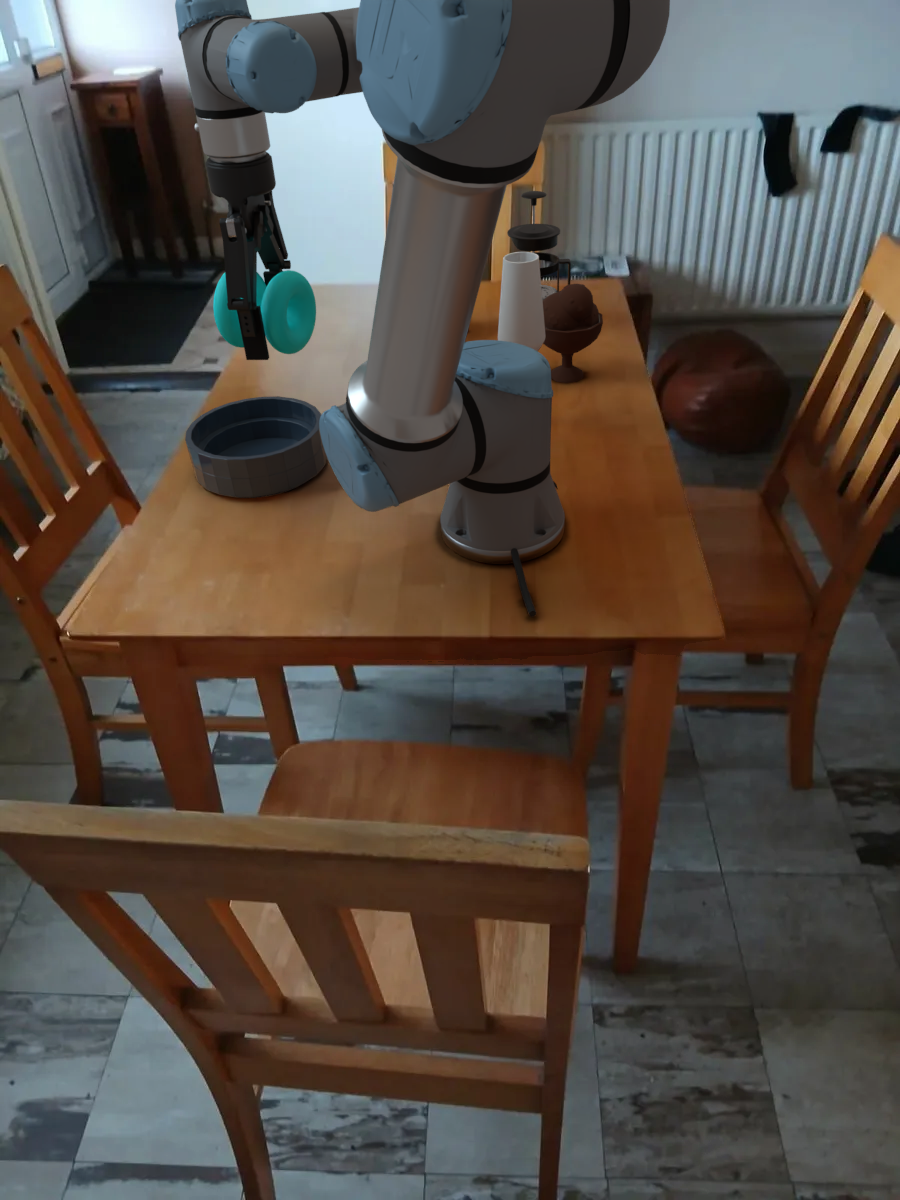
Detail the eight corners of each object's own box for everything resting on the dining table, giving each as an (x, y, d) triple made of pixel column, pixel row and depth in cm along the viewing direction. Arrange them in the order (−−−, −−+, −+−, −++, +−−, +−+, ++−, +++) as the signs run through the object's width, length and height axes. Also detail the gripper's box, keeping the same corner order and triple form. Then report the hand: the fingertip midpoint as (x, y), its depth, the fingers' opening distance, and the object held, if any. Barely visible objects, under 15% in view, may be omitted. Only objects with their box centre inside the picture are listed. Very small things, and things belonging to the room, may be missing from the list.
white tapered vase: (532, 407, 137) (532, 246, 122) (552, 425, 132) (555, 259, 117) (492, 417, 135) (487, 254, 120) (511, 436, 130) (508, 268, 115)
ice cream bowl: (598, 361, 149) (603, 270, 140) (600, 390, 140) (605, 295, 131) (534, 361, 150) (535, 271, 141) (533, 390, 142) (533, 296, 132)
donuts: (260, 328, 121) (246, 253, 115) (324, 337, 118) (314, 260, 111) (218, 358, 114) (201, 280, 108) (285, 368, 111) (272, 288, 104)
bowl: (314, 502, 119) (306, 458, 115) (178, 502, 120) (166, 460, 116) (338, 435, 133) (332, 395, 129) (217, 437, 135) (208, 397, 131)
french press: (504, 338, 159) (501, 201, 145) (503, 319, 166) (501, 186, 152) (570, 336, 158) (574, 198, 144) (566, 316, 166) (570, 183, 151)
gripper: (235, 132, 111) (266, 304, 125) (169, 183, 93) (214, 379, 106) (294, 130, 110) (318, 304, 124) (239, 181, 92) (275, 379, 106)
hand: (270, 339), depth 115 cm, fingers closed on donuts, 11 cm apart
